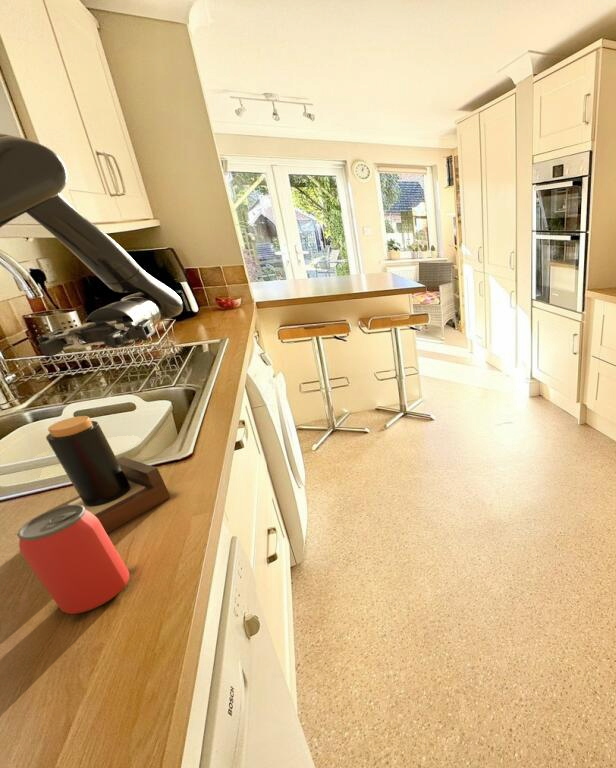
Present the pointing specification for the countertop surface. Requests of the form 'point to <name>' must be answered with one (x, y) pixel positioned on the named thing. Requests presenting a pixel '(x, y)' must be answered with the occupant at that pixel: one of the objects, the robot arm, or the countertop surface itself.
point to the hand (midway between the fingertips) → (79, 346)
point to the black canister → (88, 460)
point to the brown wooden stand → (129, 495)
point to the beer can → (73, 558)
